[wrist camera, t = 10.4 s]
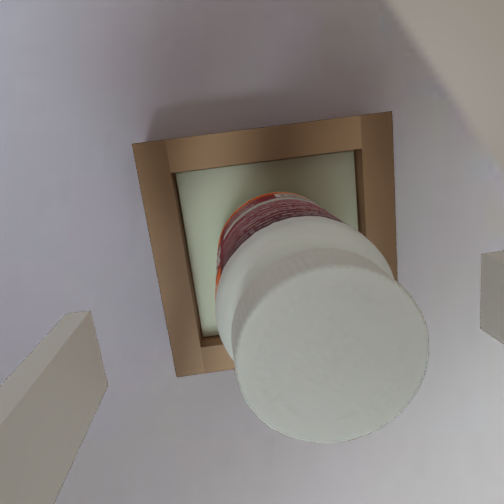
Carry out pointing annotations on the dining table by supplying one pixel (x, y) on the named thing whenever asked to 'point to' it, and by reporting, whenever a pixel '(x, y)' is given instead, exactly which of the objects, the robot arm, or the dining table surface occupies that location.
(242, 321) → the pill bottle
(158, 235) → the holder
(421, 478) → the dining table surface
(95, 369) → the robot arm
